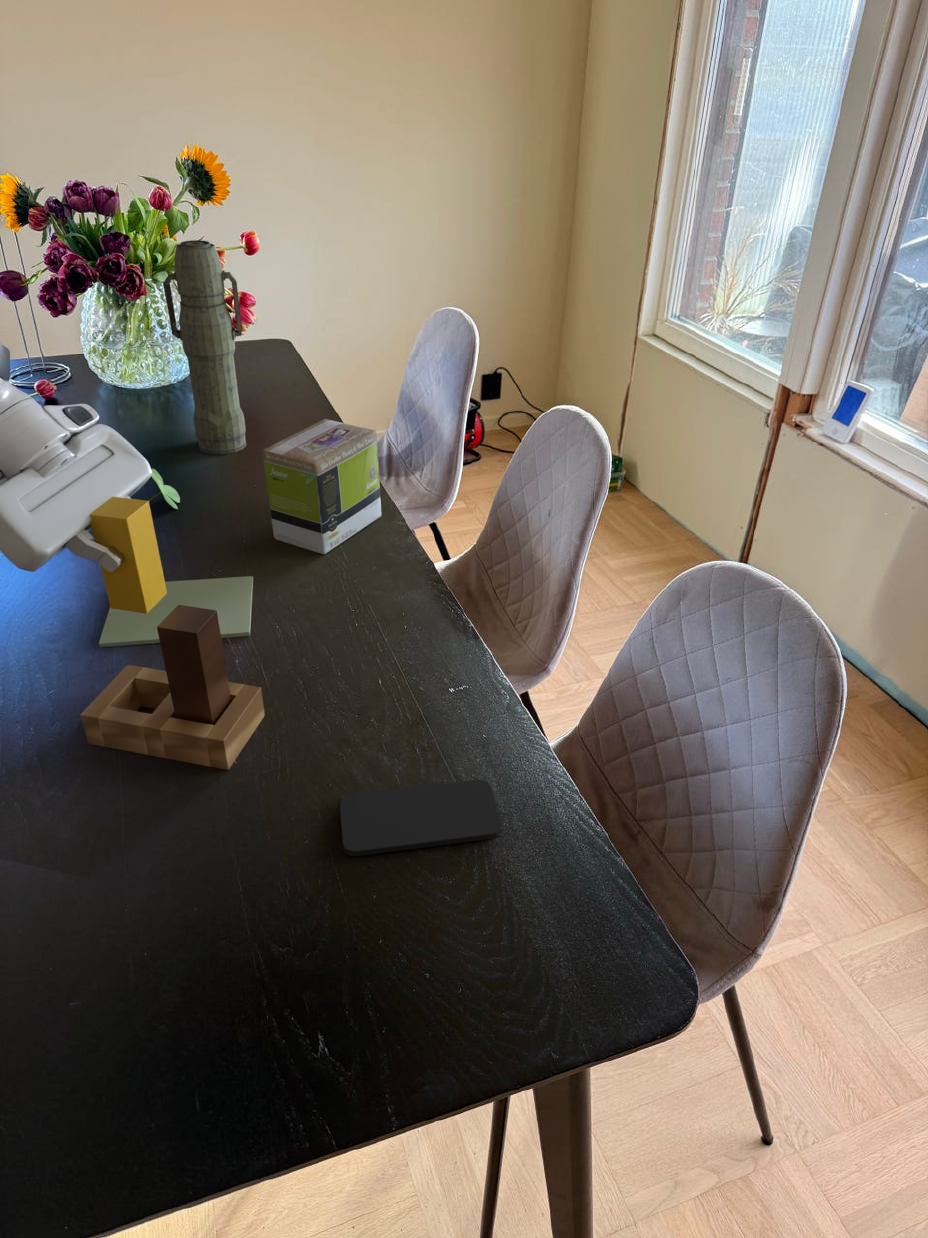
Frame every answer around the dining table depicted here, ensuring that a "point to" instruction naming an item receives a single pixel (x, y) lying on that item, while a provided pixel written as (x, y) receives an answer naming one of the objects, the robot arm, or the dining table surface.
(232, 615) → the mat
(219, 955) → the dining table surface
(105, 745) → the stand
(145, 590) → the yellow peg
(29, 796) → the dining table surface
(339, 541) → the tea box
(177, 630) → the walnut peg
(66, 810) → the dining table surface
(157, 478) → the seedling
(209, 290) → the thermos
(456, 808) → the phone
